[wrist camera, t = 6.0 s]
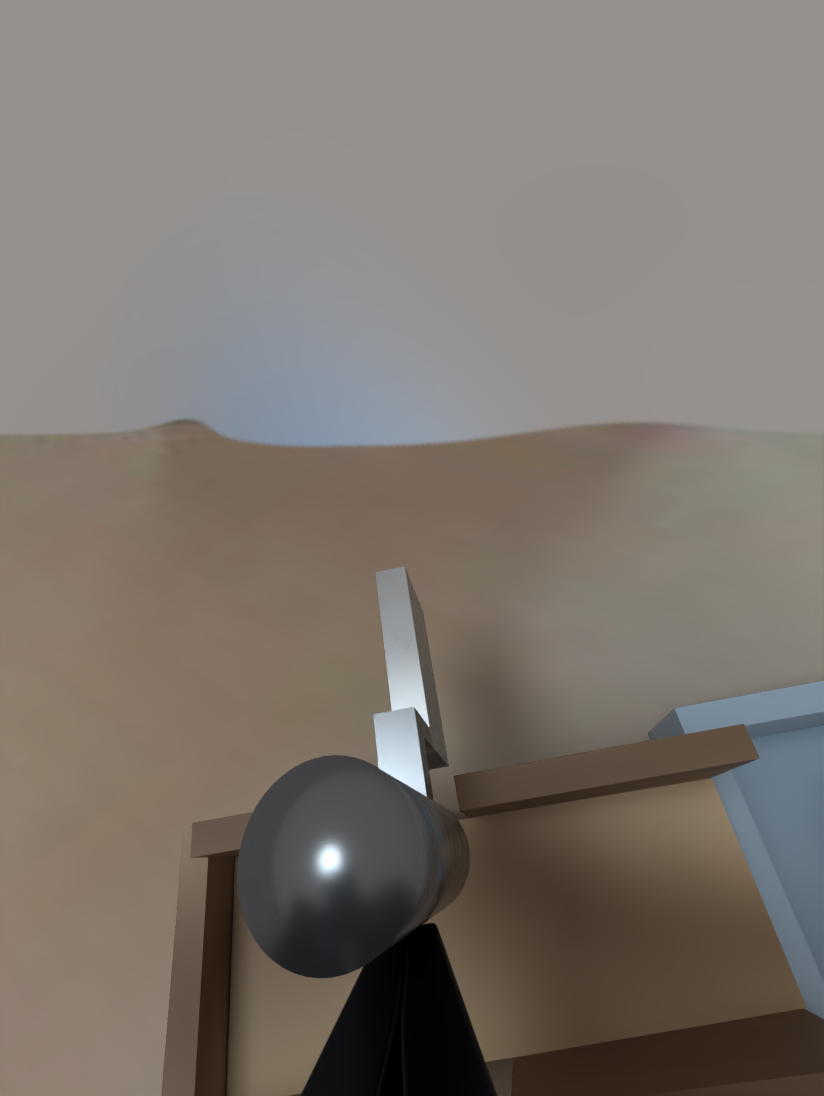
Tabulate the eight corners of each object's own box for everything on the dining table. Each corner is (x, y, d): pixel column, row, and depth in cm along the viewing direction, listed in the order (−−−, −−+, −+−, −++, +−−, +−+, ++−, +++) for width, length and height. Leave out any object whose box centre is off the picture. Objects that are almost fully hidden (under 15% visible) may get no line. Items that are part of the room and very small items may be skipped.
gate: (491, 891, 12) (435, 961, 4) (416, 903, 12) (232, 992, 4) (438, 607, 16) (359, 372, 8) (383, 619, 16) (252, 399, 8)
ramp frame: (744, 998, 15) (936, 1125, 8) (296, 1060, 16) (125, 1218, 9) (660, 772, 18) (747, 723, 11) (293, 837, 19) (164, 828, 12)
